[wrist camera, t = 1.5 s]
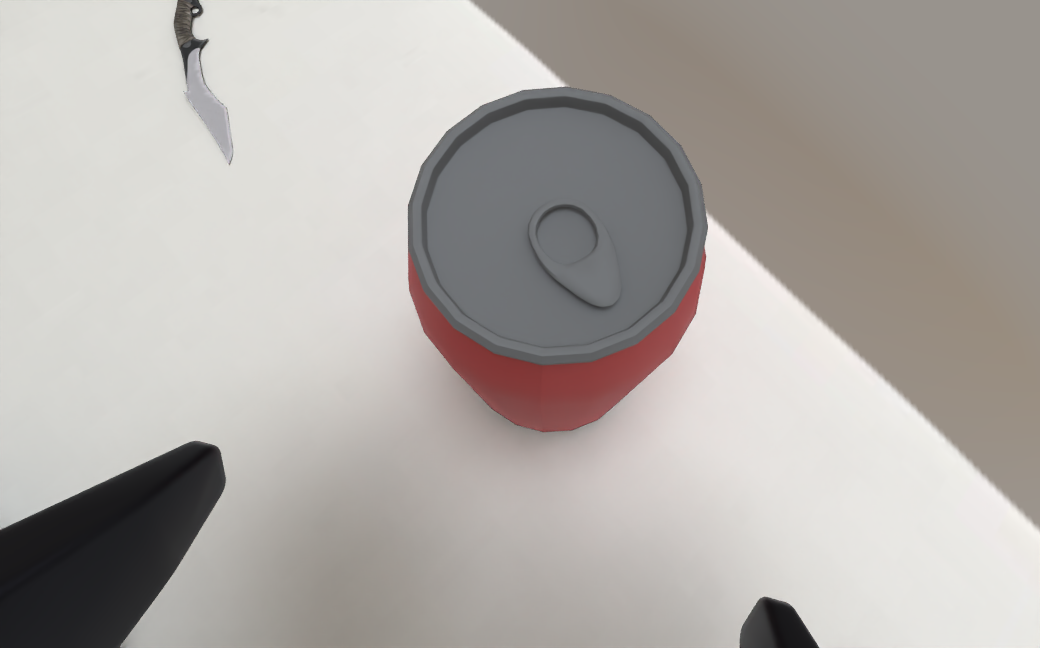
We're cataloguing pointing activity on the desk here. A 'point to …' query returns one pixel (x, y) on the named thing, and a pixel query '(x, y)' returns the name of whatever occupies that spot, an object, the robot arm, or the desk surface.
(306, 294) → the desk surface
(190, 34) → the knife
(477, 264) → the beer can
